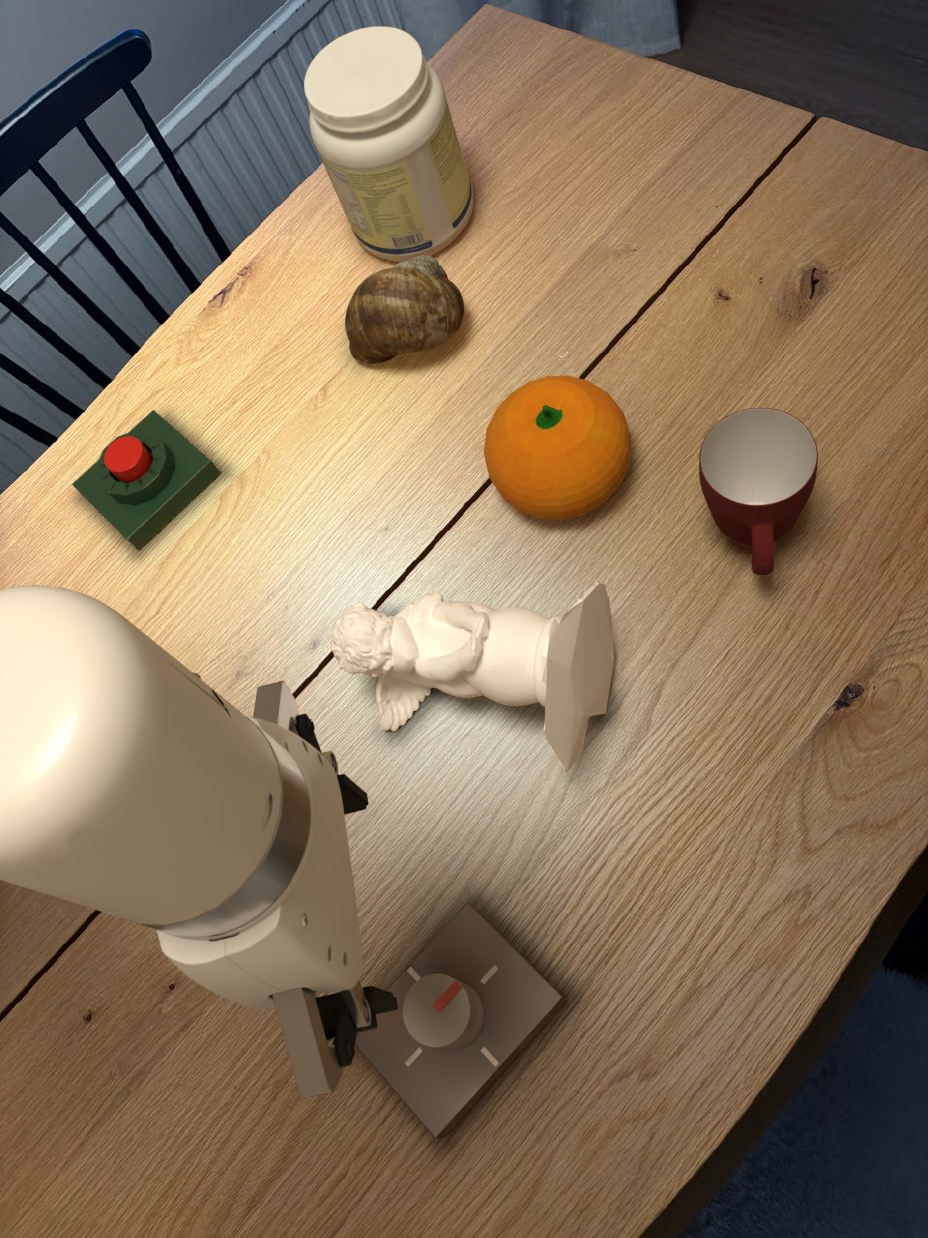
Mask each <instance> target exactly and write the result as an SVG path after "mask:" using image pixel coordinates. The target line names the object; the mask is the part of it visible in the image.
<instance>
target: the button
mask: <svg viewBox="0 0 928 1238" xmlns="http://www.w3.org/2000/svg"><path fill="white" fill-rule="evenodd" d="M151 461H152V459H151V454H150V452H149V451H148V450H147V449H146V448H145V447H144V445H143V444H142V443H141V442H140V441H139V440H138V439H137V438H134V437H130V436H127V437H122V438H119V439H117V440H116V441H114V442H113V443H112V444H111V445H110V446H109V447H108V449H107V450H106V452H105V456H104V462H105V465H106V467H107V468H108V469H109V470H110V471H111V472H112V473H113V474H114V475H115V476H116V477H117V478H118V479H119V480H121V481H124V482H132V481H135V480H138V479H140V478H141V477H142V476H143V475H144V474H145V473H146V472H147V471H148V470H149V468H150V466H151Z"/></svg>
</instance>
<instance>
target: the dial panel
mask: <svg viewBox="0 0 928 1238" xmlns="http://www.w3.org/2000/svg"><path fill="white" fill-rule="evenodd" d="M430 974H445V975H448V976H451V977H453V978H455V979H457V980H459V981H461V982H463V983H465V984H467V985H469V986H470V987H472V988H473V989H474V990H475V991H476V992H477V994H478V995H479V997H480V999H481V1001H482V1003H483V1007H484V1024H483V1027H482V1030H481V1032H480V1034H479V1036H478V1037H477V1038H476V1040H475V1041H474V1042H473V1043H472V1044H470V1045H469V1046H468V1047H466V1048H464V1049H461V1050H458V1051H445V1050H441V1049H436V1048H432V1047H427V1046H424V1045H422V1044H420V1043H418V1042H417V1041H416V1040H415V1039H413V1038H412V1036H411V1035H410V1034H409V1032H408V1031H407V1029H406V1027H405V1024H404V1020H403V1003H404V999H405V996H406V994H407V992H408V991H409V989H410V988H411V986H412V985H413V984H414V983H415V982H416V981H418V980H419V979H420V978H422V977H424V976H427V975H430ZM385 991H388V992H391V993H393V996H394V997H397V1004H398V1009H397V1010H394V1011H390V1012H385V1013H381V1014H376V1019H377V1026H378V1027H377V1028H375V1029H372V1030H367V1031H363V1032H358V1033H357V1037H356V1043H355V1048H357V1050H358V1051H359V1052H360V1053H361V1055H363V1057H364V1058H365V1059H366V1060H367V1061H368V1062H369V1064H370V1065H371V1066H372V1067H373V1068H374V1069H375V1071H376V1072H377V1073H378V1074H379V1075H380V1076H381V1077H382V1079H383V1080H384V1081H385V1082H386V1083H387V1084H388V1086H389V1087H390V1088H391V1089H392V1090H393V1091H394V1093H395V1094H396V1095H397V1096H398V1098H400V1100H401V1101H402V1102H403V1103H404V1104H405V1105H406V1106H407V1108H408V1109H409V1111H411V1112H412V1114H413V1115H414V1116H415V1117H416V1118H417V1120H418V1121H419V1122H420V1123H421V1124H422V1125H423V1126H424V1128H425V1129H426V1130H427V1131H428V1132H429V1134H430V1135H431V1136H432V1137H433V1138H434V1139H444V1138H446V1137H447V1136H448V1135H449V1134H450V1132H451V1131H452V1130H453V1129H454V1128H455V1127H456V1126H457V1124H459V1123H460V1121H461V1120H462V1119H463V1118H465V1116H466V1115H467V1113H468V1112H469V1111H471V1109H472V1108H473V1107H474V1106H475V1105H476V1103H478V1101H479V1100H480V1099H481V1098H482V1097H483V1096H484V1095H485V1093H486V1092H487V1091H488V1090H489V1089H490V1088H491V1087H492V1086H493V1085H494V1083H496V1081H497V1080H498V1079H499V1078H500V1077H501V1076H502V1075H503V1074H504V1073H505V1071H506V1070H508V1068H509V1067H510V1066H511V1065H512V1063H514V1061H515V1060H517V1058H518V1057H519V1056H520V1055H521V1053H522V1052H523V1051H524V1050H525V1049H526V1048H527V1047H528V1046H529V1045H530V1044H531V1042H532V1041H533V1040H534V1039H535V1038H537V1036H538V1035H539V1034H540V1033H541V1031H542V1030H543V1029H544V1028H545V1027H546V1025H548V1023H549V1022H551V1020H553V1018H554V1017H555V1016H556V1014H558V1012H559V1011H560V1010H561V1009H562V1008H563V1007H564V1006H565V1004H567V1003H568V999H567V997H566V996H564V995H563V994H562V993H561V992H560V990H558V989H557V988H556V987H555V985H553V983H552V982H550V981H549V980H548V979H547V978H546V977H545V976H544V975H543V974H542V973H541V972H540V971H539V969H538V968H537V967H536V966H534V964H532V963H531V961H529V959H528V958H526V957H525V955H523V954H522V953H521V952H520V950H519V949H518V948H517V947H515V945H514V944H513V943H512V942H511V941H510V940H509V939H508V938H507V937H506V936H504V934H503V933H502V932H501V931H500V930H499V929H498V928H497V927H496V926H495V925H494V924H493V923H492V922H491V921H490V920H489V919H488V918H487V917H486V916H485V915H484V914H483V913H482V912H481V911H480V910H479V908H477V907H476V906H474V905H473V904H472V903H471V902H469V901H468V902H467V903H465V905H463V907H462V908H461V909H460V910H459V911H458V912H457V913H456V915H454V917H453V918H452V919H451V920H450V921H449V922H448V923H447V924H446V925H445V926H444V928H442V929H441V931H440V932H438V934H437V935H436V936H435V937H434V938H433V939H432V940H431V941H430V942H429V944H428V945H427V946H426V947H425V948H423V950H422V951H421V952H420V953H419V954H418V955H417V957H416V958H414V959H413V961H412V962H411V963H409V965H408V966H407V967H406V968H405V969H404V970H403V972H402V973H400V975H398V976H397V978H396V979H395V980H394V981H393V982H392V983H391V984H390V985H389V986H388V987H387V989H385Z"/></svg>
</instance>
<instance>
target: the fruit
mask: <svg viewBox="0 0 928 1238" xmlns="http://www.w3.org/2000/svg"><path fill="white" fill-rule="evenodd" d="M613 398H614V397H612V396H611V394H610V393H609V392H607V391H606V390H604V389H603V388H601V387H599V386H597V385H596V384H594V383H593V382H592V381H589V380H587V379H583V378H579V377H575V376H572V375H549V376H548V375H546V376H544V377H540V378H536V379H533V380H530V381H528V382H526V383H524V384H523V385H521V386H519V387H518V388H516V389H515V390H513V391H512V392H511V393H509V395H508V396H507V397H505V398H504V400H503V401H502V402H501V403H500V404H499V405H498V406H497V407H496V409H495V411H494V413H493V414H492V417H491V419H490V422H489V424H488V425H487V427H486V431H485V439H484V447H483V457H484V462H485V465H486V469H487V473H488V477H489V479H490V481H491V483H492V485H493V486H494V487H495V489H496V490H497V492H498V493H499V494H500V496H501V497H502V499H503V500H504V501H505V502H507V503H508V504H509V505H510V506H513V507H514V508H515V509H517V510H518V511H520V513H522V514H525V515H528V516H531V517H535V518H538V519H542V520H569V519H573V518H576V517H579V516H582V515H586V514H588V513H590V512H591V511H593V510H594V509H597V507H600V506H601V505H603V504H604V503H606V502H607V501H608V499H610V497H611V496H612V495H613V494H614V493H615V492H616V490H617V489H618V488H619V487H620V486H621V483H622V482H623V479H624V477H625V475H626V473H627V470H628V467H629V466H630V463H631V450H632V435H631V432H630V428H629V425H628V422H627V419H626V416H625V413H624V411H623V410H622V409H621V406H620V405H618V403H617V402H616V400H615V399H613Z"/></svg>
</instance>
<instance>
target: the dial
mask: <svg viewBox="0 0 928 1238" xmlns="http://www.w3.org/2000/svg"><path fill="white" fill-rule="evenodd" d="M403 1020H404V1024H405V1027H406V1029H407V1031H408V1032H409V1034H410V1035H411V1036H412V1038H413V1039H415V1040H416V1041H417V1042H418V1043H420V1044H422V1045H424V1046H427V1047H432V1048H436V1049H441V1050H445V1051H458V1050H461V1049H464V1048H466V1047H468V1046H469V1045H470V1044H472V1043H473V1042H474V1041H475V1040H476V1038H477V1037H478V1036H479V1034H480V1032H481V1030H482V1027H483V1024H484V1007H483V1003H482V1001H481V999H480V997H479V995H478V994H477V992H476V991H475V990H474V989H473V988H472V987H470V986H469V985H467V984H465V983H463V982H461V981H459V980H457V979H455V978H453V977H451V976H448V975H445V974H430V975H427V976H424V977H422V978H420V979H419V980H418V981H416V982H415V983H414V984H413V985H412V986H411V988H410V989H409V991H408V992H407V994H406V996H405V999H404V1003H403Z"/></svg>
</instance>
